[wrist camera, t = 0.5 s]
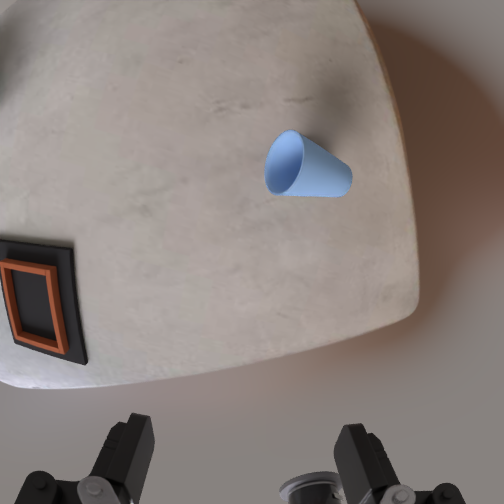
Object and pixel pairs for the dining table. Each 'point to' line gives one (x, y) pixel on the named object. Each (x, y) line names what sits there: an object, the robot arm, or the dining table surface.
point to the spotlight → (304, 168)
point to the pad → (42, 299)
